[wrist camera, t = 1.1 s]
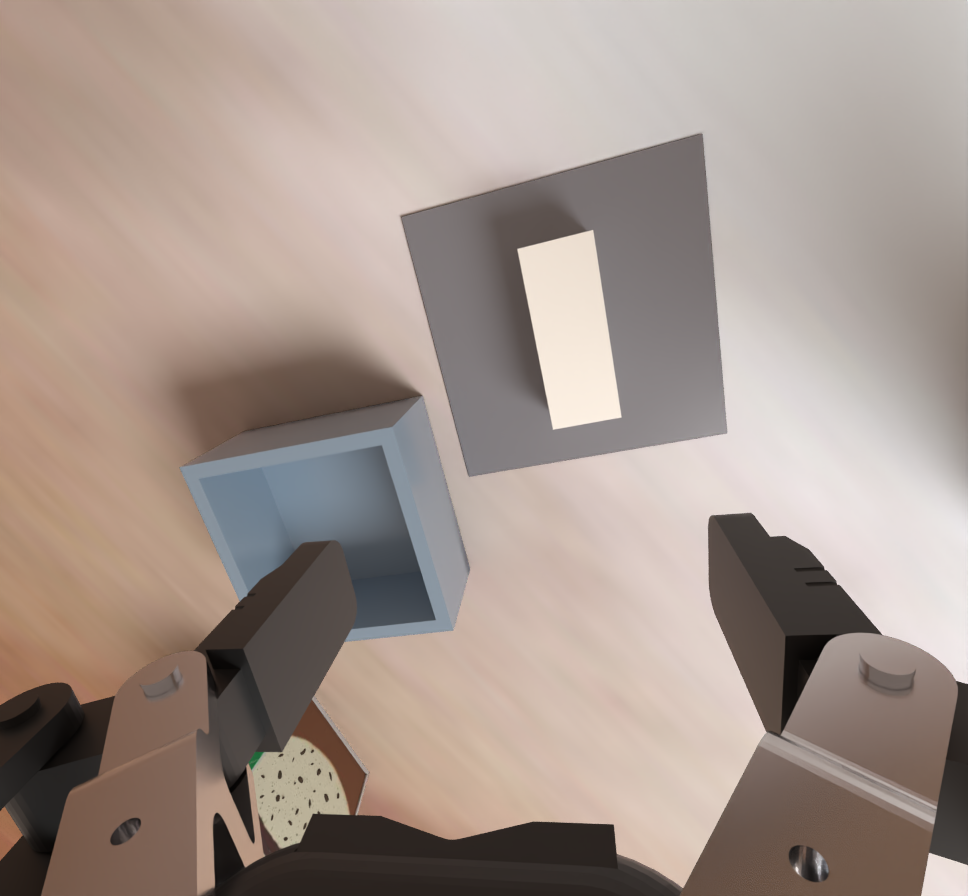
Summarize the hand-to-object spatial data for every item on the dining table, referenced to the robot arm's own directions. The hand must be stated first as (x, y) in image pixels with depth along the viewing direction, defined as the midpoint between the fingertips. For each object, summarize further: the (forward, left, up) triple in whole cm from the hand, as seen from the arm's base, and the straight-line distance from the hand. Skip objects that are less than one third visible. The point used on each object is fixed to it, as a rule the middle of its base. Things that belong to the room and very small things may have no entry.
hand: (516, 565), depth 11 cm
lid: (-2, -2, -20) cm, 20 cm away
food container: (+24, +26, -19) cm, 40 cm away
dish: (+13, +6, -19) cm, 24 cm away
